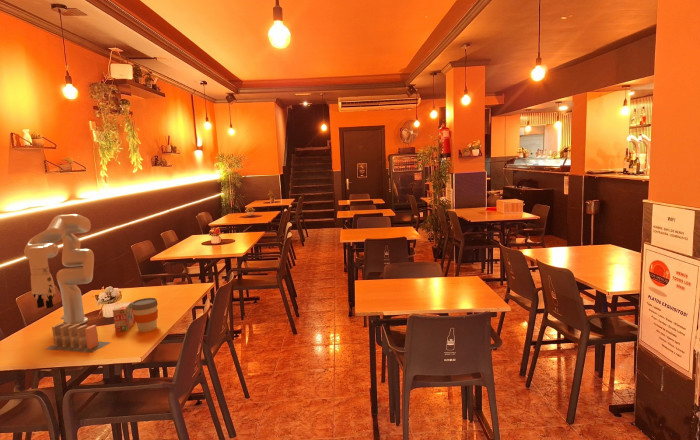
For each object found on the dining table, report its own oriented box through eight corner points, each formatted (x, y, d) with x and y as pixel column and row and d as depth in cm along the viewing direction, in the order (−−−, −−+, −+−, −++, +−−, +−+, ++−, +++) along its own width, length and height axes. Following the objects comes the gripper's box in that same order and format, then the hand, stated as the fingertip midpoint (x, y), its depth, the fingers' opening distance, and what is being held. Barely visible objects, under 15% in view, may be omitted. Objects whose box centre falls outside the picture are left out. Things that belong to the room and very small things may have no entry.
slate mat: (45, 349, 224) (44, 349, 224) (66, 340, 235) (66, 339, 235) (91, 353, 216) (91, 352, 216) (111, 343, 228) (111, 342, 228)
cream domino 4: (79, 348, 223) (76, 328, 221) (87, 344, 227) (85, 324, 226) (82, 348, 222) (79, 328, 221) (90, 344, 227) (87, 324, 225)
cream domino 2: (62, 346, 225) (60, 327, 224) (71, 342, 230) (68, 323, 229) (65, 347, 225) (62, 327, 223) (74, 343, 230) (71, 323, 228)
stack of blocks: (127, 318, 264) (124, 297, 262) (138, 317, 265) (136, 296, 263) (115, 332, 243) (112, 309, 241) (127, 330, 244) (125, 308, 242)
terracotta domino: (87, 348, 221) (85, 328, 220) (96, 344, 226) (93, 325, 225) (90, 349, 221) (87, 329, 219) (98, 344, 226) (96, 325, 224)
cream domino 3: (71, 347, 224) (68, 327, 222) (79, 343, 229) (76, 324, 227) (73, 347, 223) (70, 328, 222) (82, 343, 228) (79, 324, 227)
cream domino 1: (54, 346, 227) (51, 326, 225) (63, 342, 231) (60, 323, 230) (57, 346, 226) (54, 327, 225) (66, 342, 231) (63, 323, 230)
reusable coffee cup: (150, 323, 254) (147, 296, 252) (165, 326, 248) (162, 299, 246) (129, 331, 243) (126, 303, 241) (144, 334, 237) (141, 306, 235)
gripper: (60, 269, 227) (65, 305, 229) (33, 269, 231) (39, 304, 234) (46, 273, 219) (52, 310, 222) (19, 273, 224) (25, 309, 227)
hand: (45, 307), depth 228 cm, fingers open, 4 cm apart
